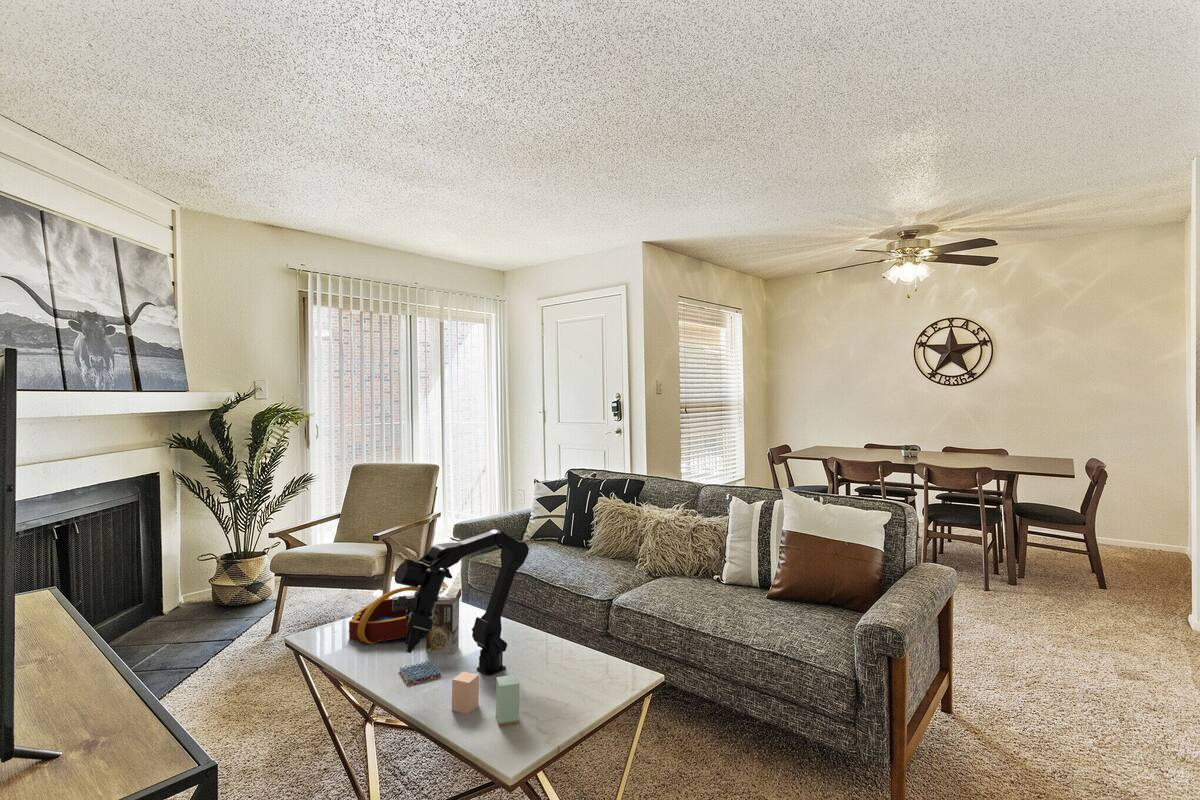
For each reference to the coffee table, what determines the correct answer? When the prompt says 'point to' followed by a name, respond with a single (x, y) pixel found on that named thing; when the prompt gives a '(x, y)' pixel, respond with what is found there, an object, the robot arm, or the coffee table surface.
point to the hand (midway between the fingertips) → (407, 648)
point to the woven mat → (420, 673)
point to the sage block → (507, 700)
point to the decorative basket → (379, 620)
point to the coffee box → (444, 627)
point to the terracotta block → (465, 692)
